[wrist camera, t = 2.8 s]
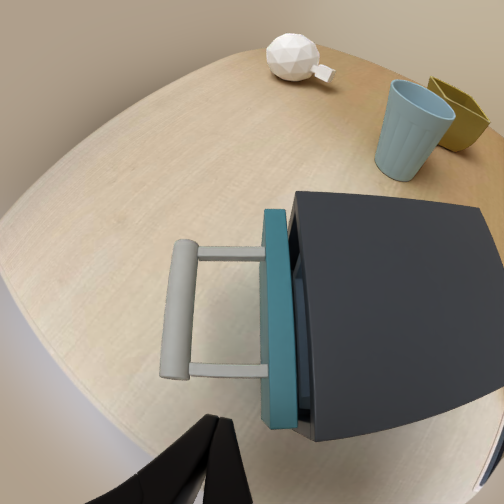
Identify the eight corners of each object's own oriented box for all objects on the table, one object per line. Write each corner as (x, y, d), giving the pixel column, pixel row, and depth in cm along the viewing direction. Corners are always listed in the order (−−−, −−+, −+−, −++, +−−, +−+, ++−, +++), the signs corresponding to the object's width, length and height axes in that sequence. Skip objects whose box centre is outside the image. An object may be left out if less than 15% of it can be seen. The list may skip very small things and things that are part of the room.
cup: (428, 194, 28) (467, 127, 19) (373, 183, 28) (405, 105, 20) (411, 153, 32) (438, 92, 23) (361, 142, 32) (382, 73, 23)
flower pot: (453, 134, 37) (472, 95, 29) (467, 164, 32) (492, 122, 25) (412, 117, 38) (429, 74, 30) (423, 145, 33) (445, 97, 26)
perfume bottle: (248, 70, 39) (312, 99, 37) (265, 22, 32) (335, 48, 30) (273, 70, 45) (329, 97, 43) (289, 30, 38) (349, 54, 36)
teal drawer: (187, 417, 16) (153, 423, 10) (196, 267, 22) (177, 205, 15) (432, 394, 16) (497, 378, 10) (410, 266, 22) (454, 216, 16)
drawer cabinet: (285, 426, 17) (314, 442, 9) (279, 266, 23) (295, 190, 15) (450, 394, 17) (527, 373, 9) (426, 264, 23) (479, 207, 16)
